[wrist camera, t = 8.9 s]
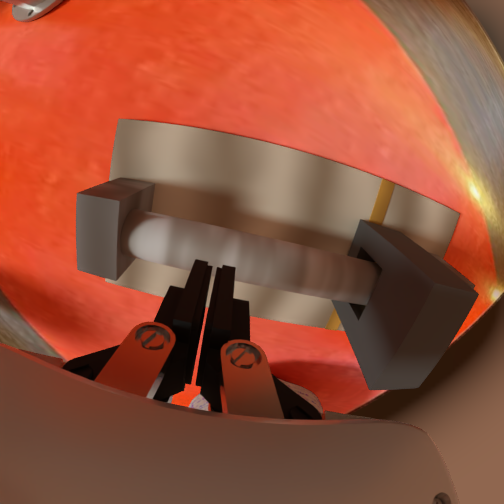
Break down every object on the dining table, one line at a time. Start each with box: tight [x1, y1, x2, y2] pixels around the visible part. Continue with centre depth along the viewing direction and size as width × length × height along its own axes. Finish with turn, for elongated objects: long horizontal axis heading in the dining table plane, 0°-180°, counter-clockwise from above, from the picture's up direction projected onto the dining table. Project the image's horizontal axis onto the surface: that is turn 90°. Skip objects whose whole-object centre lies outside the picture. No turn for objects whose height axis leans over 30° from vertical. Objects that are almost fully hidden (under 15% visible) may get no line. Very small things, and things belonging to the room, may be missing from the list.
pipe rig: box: [76, 119, 475, 331], centre depth 18 cm, size 30×14×7 cm, turn 77°
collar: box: [331, 219, 479, 390], centre depth 16 cm, size 4×7×10 cm, turn 167°
